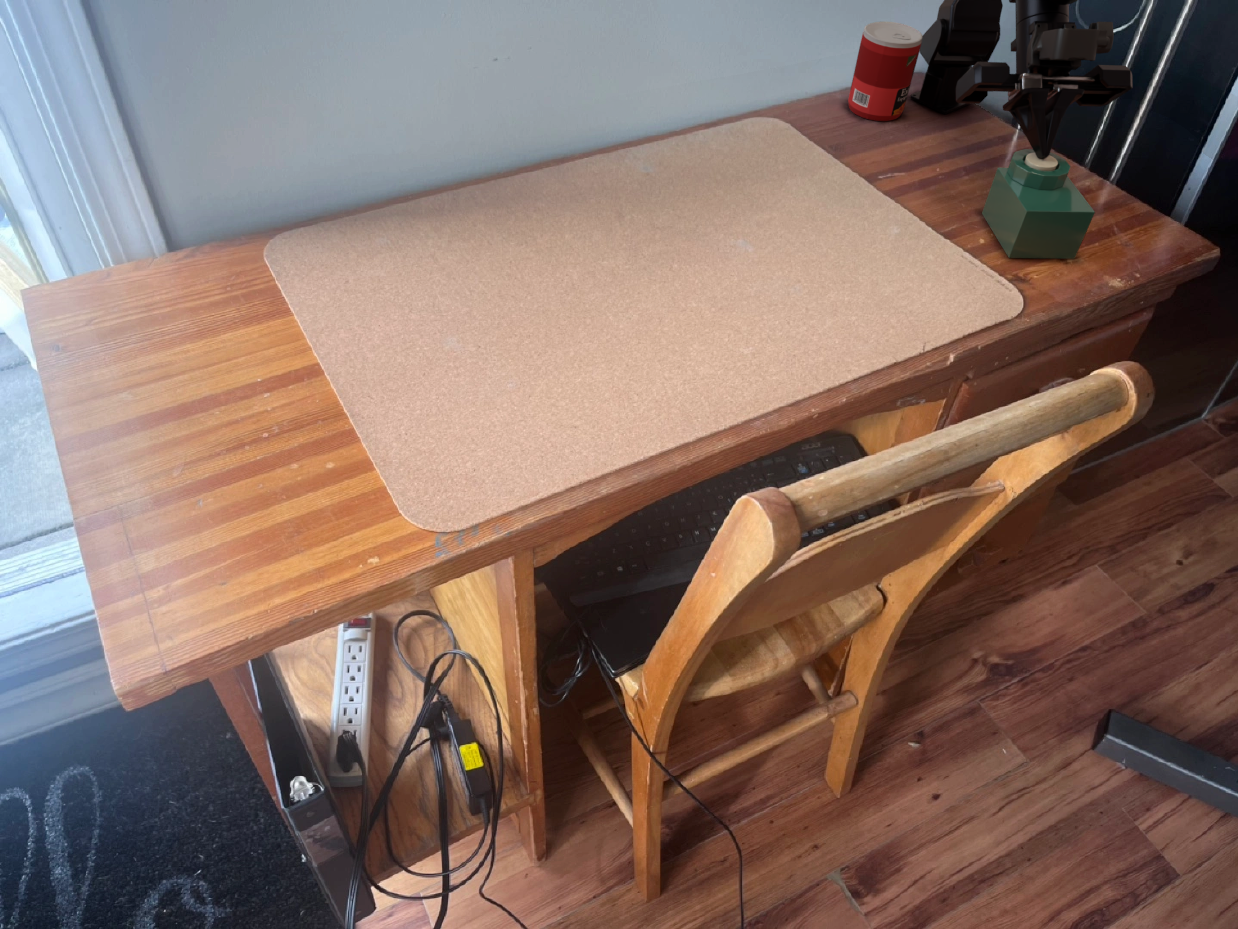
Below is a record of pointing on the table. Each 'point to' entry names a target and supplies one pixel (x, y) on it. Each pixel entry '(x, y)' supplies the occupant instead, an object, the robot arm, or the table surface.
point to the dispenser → (1037, 210)
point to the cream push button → (1041, 162)
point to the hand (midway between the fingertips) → (1043, 157)
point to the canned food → (884, 70)
